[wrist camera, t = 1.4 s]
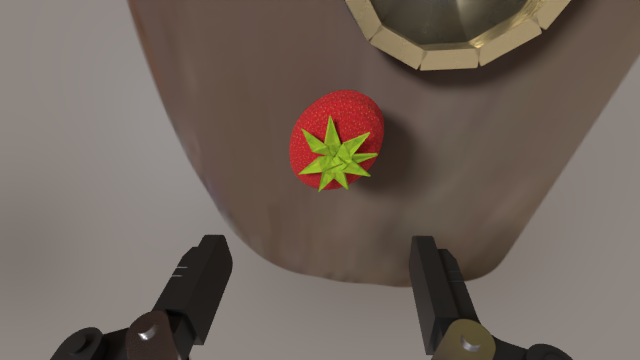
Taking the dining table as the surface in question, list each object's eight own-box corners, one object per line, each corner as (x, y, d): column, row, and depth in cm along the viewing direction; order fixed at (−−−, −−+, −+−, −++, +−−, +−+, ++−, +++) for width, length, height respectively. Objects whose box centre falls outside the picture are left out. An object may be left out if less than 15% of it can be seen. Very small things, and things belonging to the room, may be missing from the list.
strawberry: (284, 127, 27) (256, 199, 18) (333, 50, 23) (325, 98, 15) (340, 161, 28) (337, 241, 20) (395, 94, 24) (419, 159, 16)
